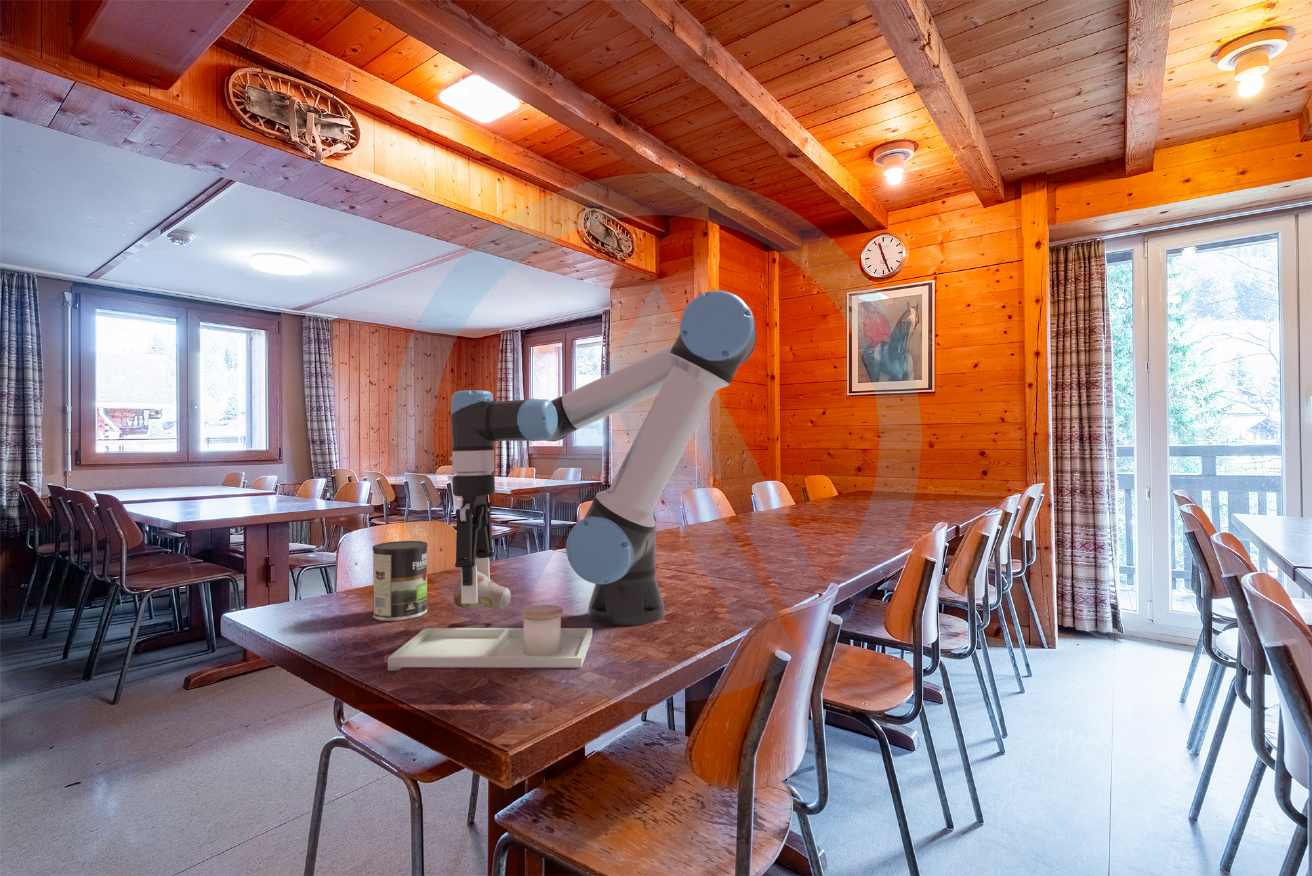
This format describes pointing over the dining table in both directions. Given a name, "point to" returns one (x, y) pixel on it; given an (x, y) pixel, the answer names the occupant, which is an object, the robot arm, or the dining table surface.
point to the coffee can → (399, 580)
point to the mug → (485, 594)
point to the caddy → (487, 649)
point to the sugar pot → (542, 630)
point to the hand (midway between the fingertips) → (476, 597)
